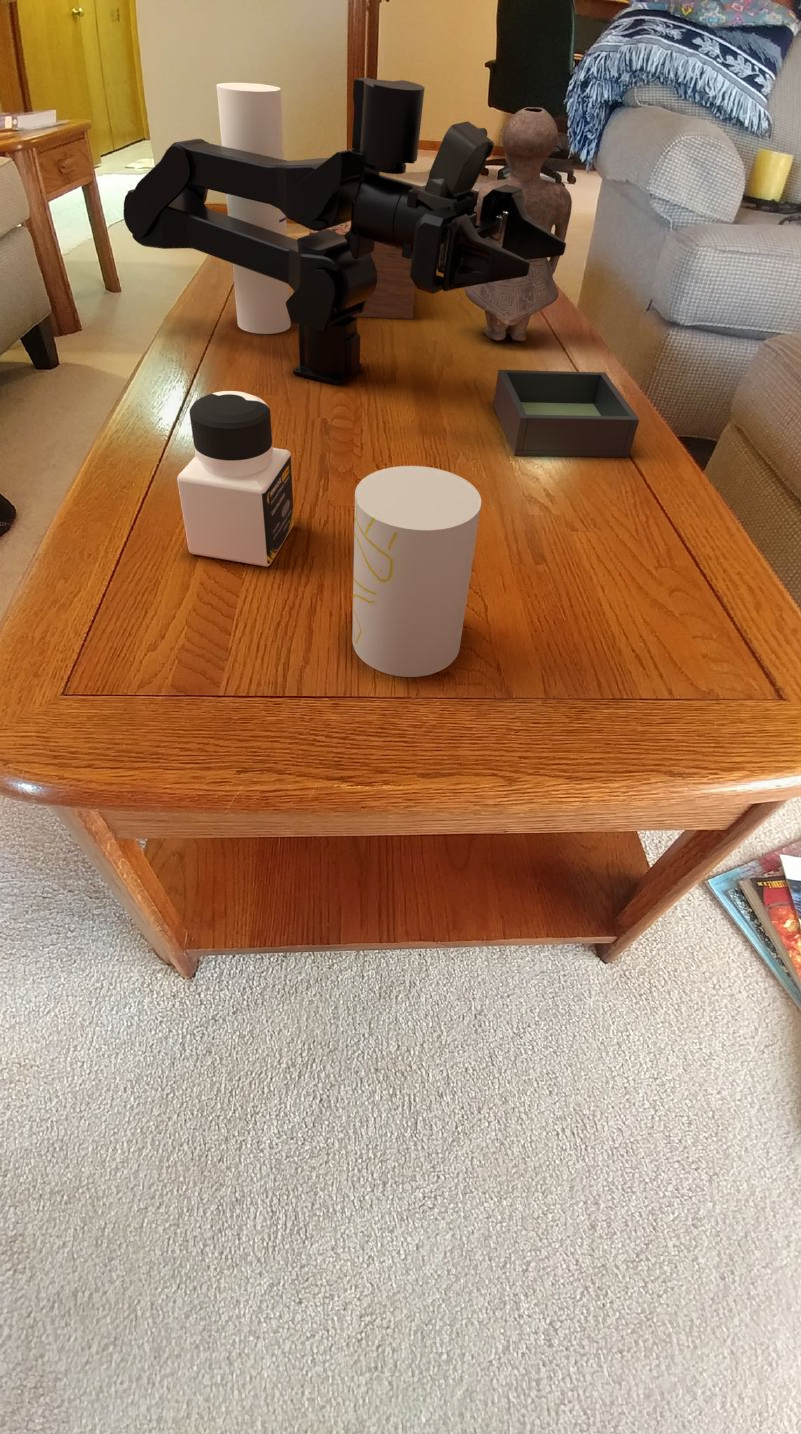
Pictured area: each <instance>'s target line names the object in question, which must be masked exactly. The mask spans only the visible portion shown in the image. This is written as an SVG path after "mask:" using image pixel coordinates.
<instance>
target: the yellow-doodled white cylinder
mask: <svg viewBox="0 0 801 1434" xmlns="http://www.w3.org/2000/svg"><path fill="white" fill-rule="evenodd" d="M481 508H482V497H481V495H480V493H479V491H478V489H477V488H476V487H475V486H474V485H473V484H472V483H471V482H469V481H468V480H466V478H464V477H461V476H460V475H458V474H455V473H453V472H451V471H447V470H443V469H440V468H435V467H431V466H423V465H421V466H420V465H400V466H399V465H398V466H392V467H391V466H390V467H387V468H382V469H379V470H377V471H374V472H372V473H370V474H368V475H366V476H364V477H363V478H362V479H361V480H360V481H359V482H358V484H357V485H356V487H355V491H354V519H353V520H354V522H353V524H354V525H353V527H354V529H353V580H352V582H353V583H352V584H353V585H352V586H353V587H352V635H351V636H352V637H351V640H352V646H353V650H354V651H355V653H356V655H357V657H359V658H360V660H361V661H363V663H365V664H366V665H367V666H368V667H370V668H372V669H374V670H376V671H378V672H381V673H384V674H386V675H390V676H395V677H401V678H402V677H403V678H418V677H419V678H420V677H425V676H430V675H434V674H436V673H438V672H440V671H443V670H444V669H446V668H447V667H449V666H450V665H452V663H453V662H454V661H455V660H456V659H457V657H458V655H459V653H460V650H461V649H460V648H461V642H462V635H463V628H464V622H465V616H466V615H465V614H466V608H467V601H468V595H469V588H470V581H471V577H472V576H471V575H472V569H473V562H474V555H475V549H476V548H475V547H476V541H477V535H478V528H479V522H480V515H481Z"/></svg>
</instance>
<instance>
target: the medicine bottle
mask: <svg viewBox="0 0 801 1434" xmlns="http://www.w3.org/2000/svg"><path fill="white" fill-rule="evenodd" d="M188 412H189V417H190V419H189V420H190V426H191V433H192V440H193V447H194V454H195V455H194V457H193V458H192V459H191V460H190V461H189V462H188V464H186V466H185V467H184V468H183V469H182V470H181V472H179V474H178V475H177V477H176V481H177V487H178V493H179V500H180V506H181V511H182V518H183V523H184V530H185V536H186V542H187V548H188V552H189V553H190V554H191V555H195V556H200V557H201V556H202V557H207V558H213V559H219V560H224V561H225V560H226V561H230V562H231V561H232V562H238V563H242V564H243V563H244V564H250V565H255V566H259V567H260V566H261V567H269V566H270V565H271V564H272V562H273V561H274V559H275V557H276V556H277V554H278V552H279V551H280V549H281V547H282V546H283V544H284V542H285V540H287V537H288V536H289V534H290V532H291V530H292V529H293V527H294V525H295V516H294V493H293V476H292V475H293V474H292V472H293V471H292V453H291V451H290V450H288V449H284V448H277V447H274V446H273V432H272V417H271V416H272V415H271V409H270V407H269V405H268V404H267V403H266V402H265V401H264V400H263V399H262V398H260V397H259V396H256V395H253V394H250V393H247V392H243V391H238V390H237V391H236V390H223V391H217V392H212V393H210V394H206V395H203V396H202V397H199V398H198V399H196V400H195V401H194V402H193V404H192V405H191V407H190V408H189V411H188Z"/></svg>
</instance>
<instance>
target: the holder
mask: <svg viewBox="0 0 801 1434" xmlns="http://www.w3.org/2000/svg"><path fill="white" fill-rule="evenodd" d="M492 407H493V409H494V411H495V414H496V416H497V418H498V420H499V423H500V425H501V427H502V430H503V432H504V434H505V437H506V440H507V441H508V445H509V446H510V449H511V451H512V453H513V456H516V457H518V456H520V457H525V456H526V457H587V458H588V457H593V458H594V457H595V458H597V457H603V458H629V457H630V454H631V450H632V446H633V444H634V440H635V436H636V433H637V430H638V427H639V423H640V419H639V417H638V416H637V414H636V413H635V411H634V410H633V409H632V407H631V406H630V405H629V403H628V402H627V400H626V399H625V398H624V396H623V395H622V393H621V392H620V390H619V389H618V388H617V386H616V385H615V384H614V383H613V381H612V379H611V378H610V377H609V375H608V374H607V372H605V371H603V372H602V371H570V370H569V371H568V370H567V371H565V370H530V369H529V370H526V369H525V370H523V369H522V370H521V369H498V371H497V377H496V383H495V391H494V398H493V404H492Z"/></svg>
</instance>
